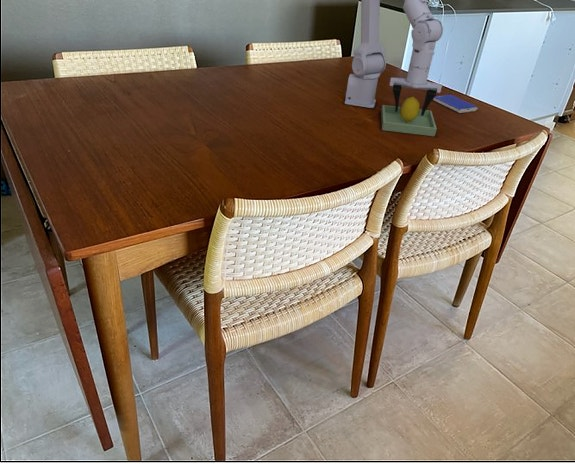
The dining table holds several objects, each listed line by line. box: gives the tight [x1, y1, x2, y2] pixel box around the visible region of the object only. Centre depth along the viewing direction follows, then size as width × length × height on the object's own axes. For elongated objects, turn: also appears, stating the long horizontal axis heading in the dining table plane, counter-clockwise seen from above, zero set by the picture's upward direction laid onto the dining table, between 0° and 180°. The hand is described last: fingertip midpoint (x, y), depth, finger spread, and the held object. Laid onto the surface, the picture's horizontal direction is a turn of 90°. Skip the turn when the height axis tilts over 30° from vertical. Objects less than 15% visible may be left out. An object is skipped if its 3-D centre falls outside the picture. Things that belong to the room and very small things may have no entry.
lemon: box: [400, 95, 421, 123], centre depth 139 cm, size 6×6×8 cm
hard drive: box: [432, 94, 478, 114], centre depth 158 cm, size 2×8×12 cm
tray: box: [380, 104, 438, 137], centre depth 141 cm, size 15×15×2 cm
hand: (409, 112), depth 139 cm, fingers open, 7 cm apart
